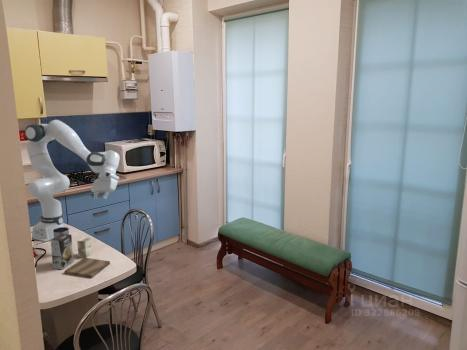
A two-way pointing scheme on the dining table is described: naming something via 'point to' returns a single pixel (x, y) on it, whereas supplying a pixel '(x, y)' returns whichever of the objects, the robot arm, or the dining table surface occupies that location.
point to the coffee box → (62, 251)
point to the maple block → (84, 247)
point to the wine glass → (60, 231)
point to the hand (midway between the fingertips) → (99, 198)
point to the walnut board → (87, 267)
